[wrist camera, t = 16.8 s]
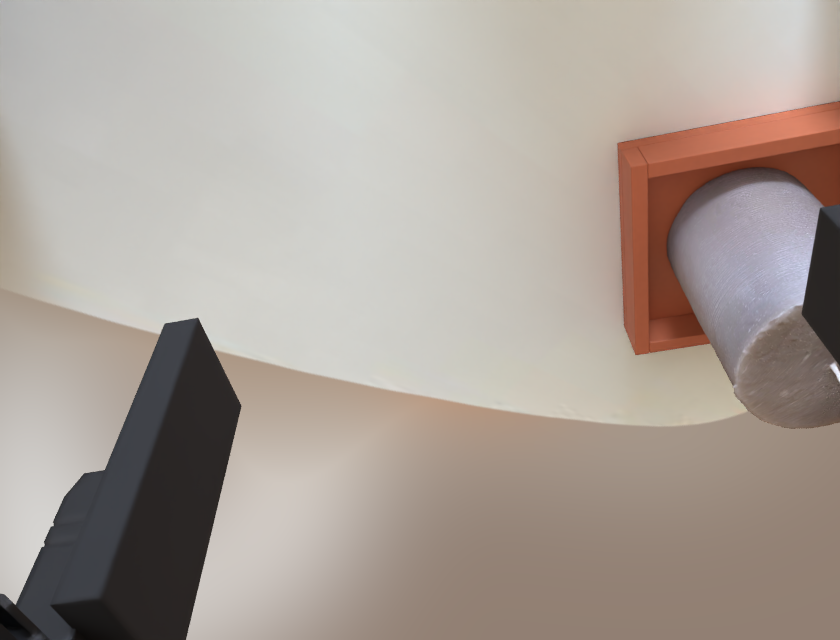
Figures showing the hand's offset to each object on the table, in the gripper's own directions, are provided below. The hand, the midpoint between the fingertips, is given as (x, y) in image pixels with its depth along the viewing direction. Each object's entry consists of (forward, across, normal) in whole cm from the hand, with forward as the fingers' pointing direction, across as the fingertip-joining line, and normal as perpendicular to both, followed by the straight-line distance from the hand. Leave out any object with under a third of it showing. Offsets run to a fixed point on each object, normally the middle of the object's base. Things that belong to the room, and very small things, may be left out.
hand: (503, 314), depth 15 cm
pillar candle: (+29, +17, -19) cm, 39 cm away
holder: (+30, +17, -19) cm, 39 cm away
